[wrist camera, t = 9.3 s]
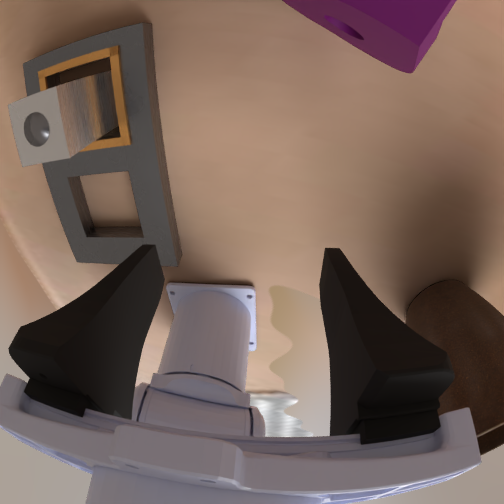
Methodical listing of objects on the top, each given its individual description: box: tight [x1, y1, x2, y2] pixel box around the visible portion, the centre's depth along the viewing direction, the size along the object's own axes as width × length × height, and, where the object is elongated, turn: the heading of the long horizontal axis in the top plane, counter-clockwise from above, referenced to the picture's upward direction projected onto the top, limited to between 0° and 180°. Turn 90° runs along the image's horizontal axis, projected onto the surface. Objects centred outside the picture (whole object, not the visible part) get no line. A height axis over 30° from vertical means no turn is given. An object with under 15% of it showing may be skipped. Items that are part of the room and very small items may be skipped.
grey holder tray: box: [23, 23, 182, 267], centre depth 19 cm, size 18×10×2 cm, turn 1°
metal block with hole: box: [8, 71, 119, 167], centre depth 15 cm, size 4×4×6 cm
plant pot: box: [406, 280, 504, 456], centre depth 21 cm, size 15×15×16 cm
